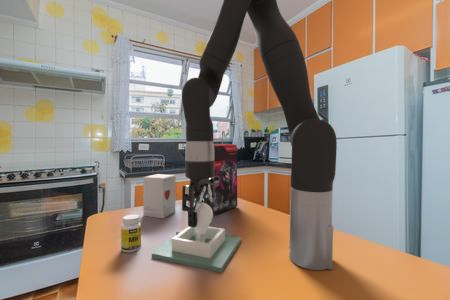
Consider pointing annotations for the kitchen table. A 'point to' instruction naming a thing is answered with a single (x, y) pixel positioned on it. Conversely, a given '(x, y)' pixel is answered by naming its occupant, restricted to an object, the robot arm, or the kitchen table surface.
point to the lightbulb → (203, 221)
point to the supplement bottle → (131, 233)
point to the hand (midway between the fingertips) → (200, 220)
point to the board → (199, 249)
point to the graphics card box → (224, 178)
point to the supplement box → (158, 195)
